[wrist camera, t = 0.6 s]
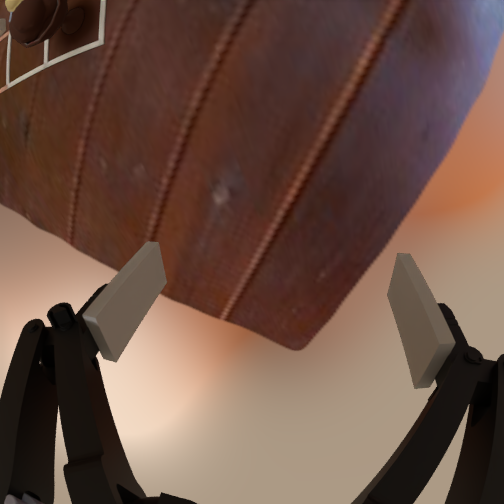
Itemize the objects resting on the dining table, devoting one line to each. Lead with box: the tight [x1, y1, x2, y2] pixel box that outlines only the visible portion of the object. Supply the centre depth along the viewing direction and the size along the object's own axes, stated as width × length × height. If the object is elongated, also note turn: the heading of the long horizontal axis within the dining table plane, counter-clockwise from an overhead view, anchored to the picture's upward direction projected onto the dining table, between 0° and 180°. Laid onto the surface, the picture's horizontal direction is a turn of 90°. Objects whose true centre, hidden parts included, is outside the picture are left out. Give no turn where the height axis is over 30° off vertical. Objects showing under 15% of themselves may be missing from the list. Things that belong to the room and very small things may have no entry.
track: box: [0, 0, 107, 93], centre depth 32 cm, size 15×43×1 cm, turn 90°
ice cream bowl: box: [9, 0, 85, 48], centre depth 24 cm, size 11×11×15 cm
